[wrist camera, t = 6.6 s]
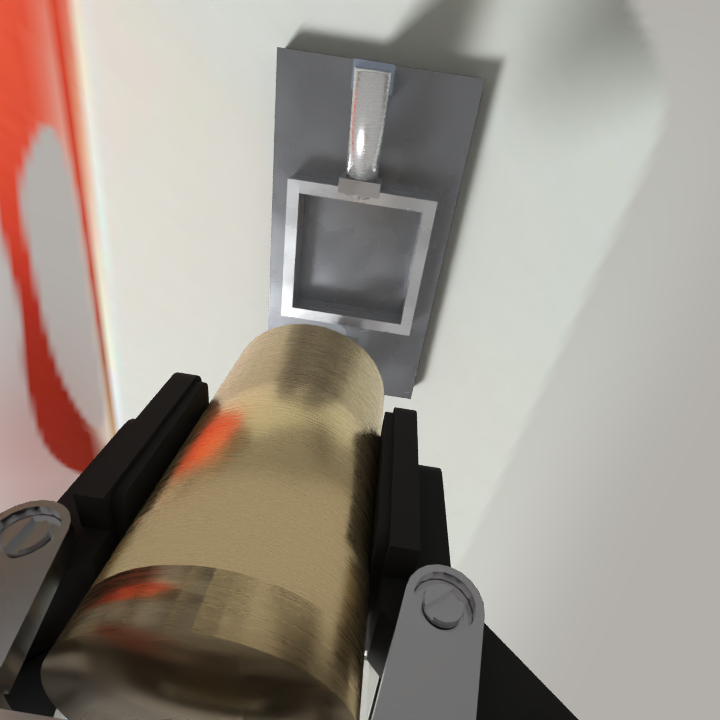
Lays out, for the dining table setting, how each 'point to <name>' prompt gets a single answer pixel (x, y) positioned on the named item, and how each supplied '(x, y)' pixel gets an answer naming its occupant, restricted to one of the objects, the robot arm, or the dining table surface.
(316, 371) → the cylinder
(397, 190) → the coupling stand
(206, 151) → the dining table surface
